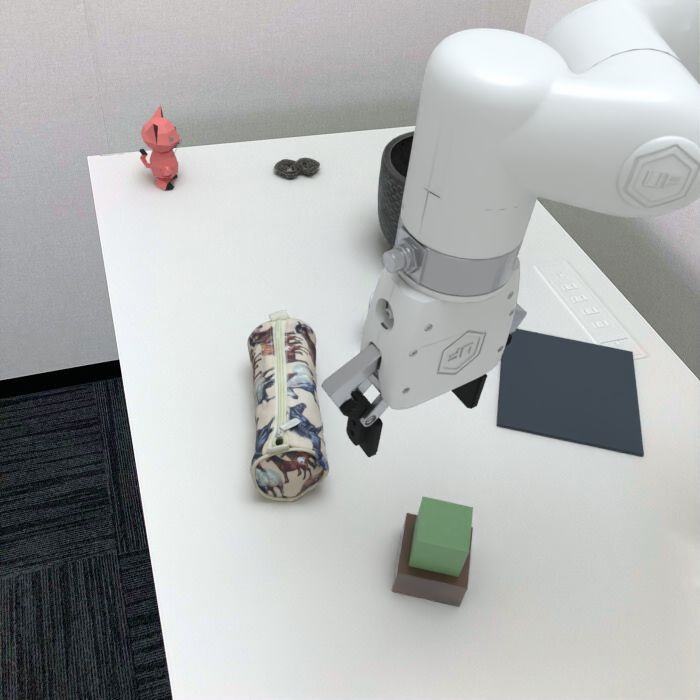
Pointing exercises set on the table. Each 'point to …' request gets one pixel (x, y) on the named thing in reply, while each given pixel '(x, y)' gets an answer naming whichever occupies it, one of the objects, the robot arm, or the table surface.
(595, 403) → the mat
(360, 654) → the table surface
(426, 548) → the green cube
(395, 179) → the planter
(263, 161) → the table surface
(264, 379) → the pencil case
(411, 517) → the walnut base block
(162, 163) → the cat figurine
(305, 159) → the corroded twin loop
